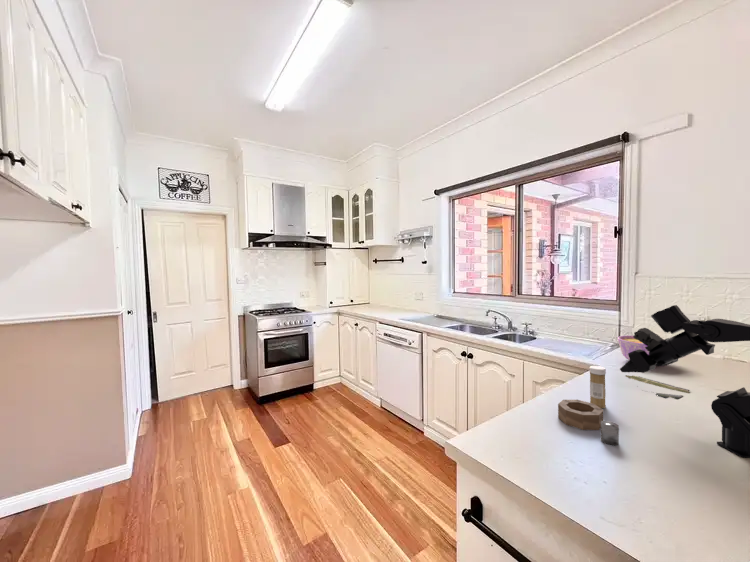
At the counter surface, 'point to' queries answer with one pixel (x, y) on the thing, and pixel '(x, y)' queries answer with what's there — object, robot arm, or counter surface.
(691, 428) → the counter surface
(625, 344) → the bowl of food
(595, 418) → the walnut collar
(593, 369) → the sprinkles bottle
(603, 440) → the short metal stub
